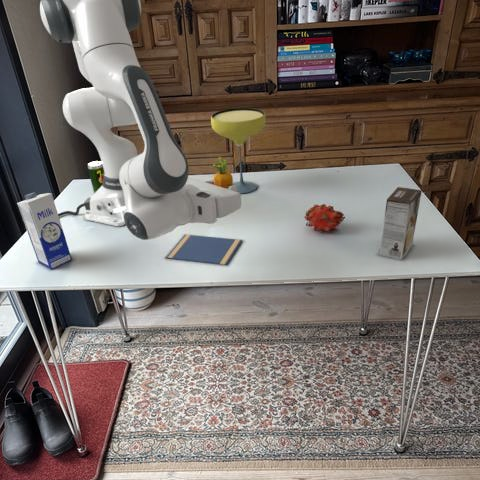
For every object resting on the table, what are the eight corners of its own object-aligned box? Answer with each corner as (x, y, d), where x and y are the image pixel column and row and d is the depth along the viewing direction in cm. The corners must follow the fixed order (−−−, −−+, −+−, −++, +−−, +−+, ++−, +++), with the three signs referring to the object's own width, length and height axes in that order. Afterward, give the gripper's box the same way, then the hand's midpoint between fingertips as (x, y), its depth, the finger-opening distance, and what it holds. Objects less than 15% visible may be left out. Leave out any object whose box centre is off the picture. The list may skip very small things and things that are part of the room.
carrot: (233, 219, 124) (229, 162, 115) (214, 218, 125) (209, 161, 116) (237, 211, 128) (233, 155, 119) (219, 210, 129) (214, 155, 120)
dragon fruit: (300, 233, 144) (339, 237, 144) (305, 228, 135) (346, 233, 136) (303, 205, 144) (342, 209, 144) (308, 198, 135) (349, 203, 135)
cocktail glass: (271, 194, 165) (270, 118, 150) (220, 200, 163) (213, 124, 148) (261, 176, 179) (259, 105, 164) (214, 181, 178) (208, 110, 163)
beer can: (92, 198, 171) (83, 165, 164) (100, 193, 175) (92, 160, 168) (105, 200, 170) (97, 166, 162) (112, 194, 174) (105, 161, 166)
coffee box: (389, 240, 134) (397, 185, 124) (412, 245, 131) (422, 189, 121) (378, 255, 128) (386, 198, 118) (402, 260, 125) (412, 203, 115)
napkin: (165, 258, 133) (165, 257, 133) (185, 235, 144) (184, 234, 144) (226, 265, 128) (226, 263, 128) (241, 241, 139) (241, 239, 139)
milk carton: (50, 270, 132) (27, 201, 120) (37, 262, 135) (13, 195, 123) (72, 259, 136) (52, 192, 124) (59, 252, 140) (38, 187, 127)
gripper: (160, 204, 122) (199, 187, 130) (217, 226, 110) (256, 205, 118) (156, 180, 118) (196, 164, 126) (215, 200, 107) (255, 181, 114)
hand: (226, 184), depth 122 cm, fingers closed on carrot, 5 cm apart
